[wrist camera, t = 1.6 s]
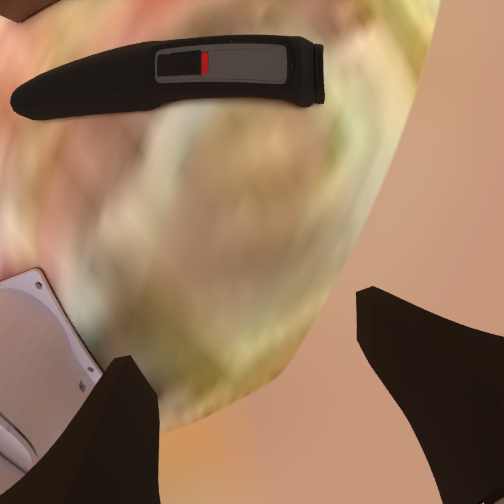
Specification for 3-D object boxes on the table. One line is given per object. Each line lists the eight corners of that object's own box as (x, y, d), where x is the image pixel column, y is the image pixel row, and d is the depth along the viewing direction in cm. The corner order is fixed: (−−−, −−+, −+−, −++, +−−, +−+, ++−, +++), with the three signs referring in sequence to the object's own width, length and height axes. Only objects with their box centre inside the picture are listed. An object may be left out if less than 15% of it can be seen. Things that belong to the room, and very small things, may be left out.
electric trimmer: (39, 70, 11) (9, 63, 8) (319, 46, 13) (345, 31, 10) (39, 133, 12) (8, 137, 9) (320, 109, 14) (347, 107, 11)
